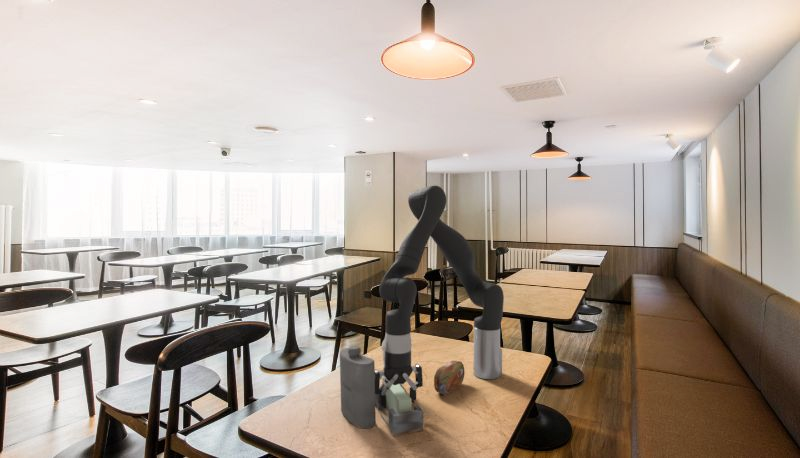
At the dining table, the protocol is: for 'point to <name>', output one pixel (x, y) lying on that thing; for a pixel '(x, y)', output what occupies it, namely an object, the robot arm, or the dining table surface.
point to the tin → (449, 377)
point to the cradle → (401, 418)
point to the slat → (398, 399)
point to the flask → (357, 387)
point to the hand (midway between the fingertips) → (397, 404)
